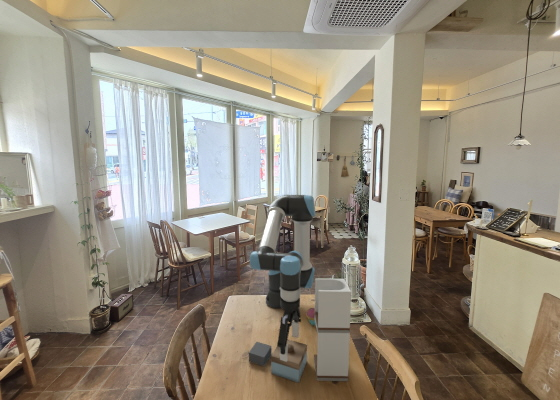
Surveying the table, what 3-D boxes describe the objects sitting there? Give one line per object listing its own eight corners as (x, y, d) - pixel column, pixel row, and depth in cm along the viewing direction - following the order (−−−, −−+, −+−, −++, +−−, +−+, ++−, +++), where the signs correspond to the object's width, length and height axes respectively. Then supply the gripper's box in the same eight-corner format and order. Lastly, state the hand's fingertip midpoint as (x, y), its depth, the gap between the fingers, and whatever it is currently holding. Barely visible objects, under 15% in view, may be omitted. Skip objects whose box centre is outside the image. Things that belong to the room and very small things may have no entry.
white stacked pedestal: (341, 359, 102) (344, 278, 98) (347, 381, 91) (351, 291, 87) (313, 358, 102) (315, 278, 98) (317, 380, 92) (318, 291, 88)
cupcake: (309, 316, 132) (309, 295, 131) (324, 320, 128) (325, 298, 127) (303, 325, 124) (304, 302, 123) (320, 330, 121) (320, 307, 119)
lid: (281, 343, 104) (281, 334, 104) (307, 350, 100) (307, 341, 100) (271, 361, 94) (271, 352, 94) (298, 370, 90) (298, 360, 90)
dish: (281, 353, 105) (281, 343, 104) (306, 361, 101) (307, 350, 100) (271, 373, 95) (271, 361, 94) (298, 382, 91) (298, 370, 90)
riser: (256, 350, 107) (256, 341, 107) (271, 354, 104) (271, 345, 104) (248, 361, 101) (248, 352, 100) (264, 366, 98) (264, 357, 98)
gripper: (291, 281, 107) (291, 326, 110) (267, 312, 84) (268, 368, 87) (308, 284, 104) (307, 330, 107) (288, 317, 81) (287, 375, 84)
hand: (289, 347), depth 97 cm, fingers open, 13 cm apart
